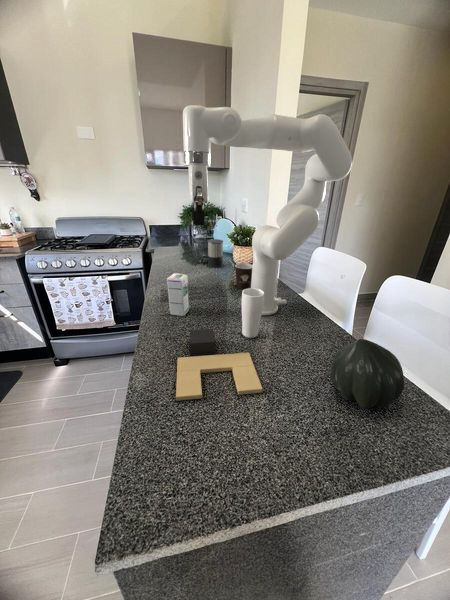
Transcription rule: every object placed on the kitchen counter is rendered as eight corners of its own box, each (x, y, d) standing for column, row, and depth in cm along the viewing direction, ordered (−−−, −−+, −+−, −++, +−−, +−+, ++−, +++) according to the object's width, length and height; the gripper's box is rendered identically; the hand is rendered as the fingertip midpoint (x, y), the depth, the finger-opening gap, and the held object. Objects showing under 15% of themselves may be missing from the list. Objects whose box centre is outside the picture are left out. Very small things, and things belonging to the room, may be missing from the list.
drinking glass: (246, 342, 78) (249, 298, 71) (235, 331, 83) (237, 290, 77) (264, 336, 81) (269, 294, 74) (252, 327, 86) (256, 286, 80)
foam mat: (248, 355, 72) (249, 352, 71) (262, 392, 59) (262, 388, 59) (177, 361, 69) (177, 357, 68) (176, 400, 56) (176, 396, 56)
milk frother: (222, 268, 144) (223, 242, 138) (195, 267, 144) (194, 241, 138) (223, 261, 157) (223, 237, 151) (198, 260, 157) (197, 236, 151)
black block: (212, 341, 78) (212, 328, 76) (215, 354, 72) (215, 341, 70) (190, 342, 77) (189, 330, 75) (190, 356, 71) (190, 343, 69)
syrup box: (184, 316, 92) (182, 279, 86) (169, 314, 93) (166, 277, 87) (189, 309, 97) (188, 274, 91) (175, 307, 98) (172, 272, 92)
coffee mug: (231, 287, 118) (232, 267, 114) (237, 281, 125) (238, 262, 121) (255, 291, 114) (257, 270, 110) (260, 285, 121) (262, 265, 117)
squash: (432, 401, 51) (404, 329, 54) (372, 420, 47) (346, 341, 51) (378, 396, 64) (358, 338, 68) (328, 410, 60) (310, 349, 64)
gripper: (214, 158, 64) (213, 227, 71) (207, 163, 80) (207, 219, 87) (184, 157, 63) (186, 227, 70) (183, 162, 78) (185, 219, 85)
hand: (197, 222), depth 78 cm, fingers open, 9 cm apart
